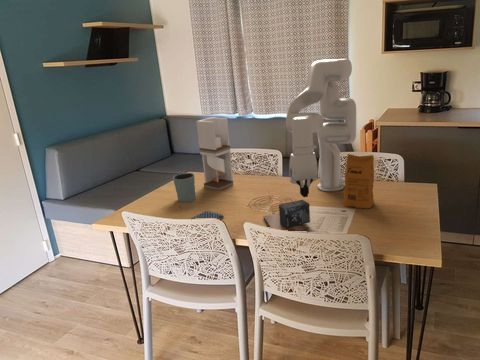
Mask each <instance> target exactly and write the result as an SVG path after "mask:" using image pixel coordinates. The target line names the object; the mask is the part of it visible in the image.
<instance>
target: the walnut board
mask: <svg viewBox="0 0 480 360" xmlns="http://www.w3.org/2000/svg"><path fill="white" fill-rule="evenodd" d="M263 221H264V222H265V224H266V225H267V226H268V228H269V227H271V228H276V229H281V230H288V231H308V232H309V228H308V227H307V226H306V225H305V224H301V225H297V226H293V227H289V228H285V227H284V226H283V225H281V224H280V214H279V213H274V214H267V215H263Z"/></svg>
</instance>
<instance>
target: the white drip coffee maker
mask: <svg viewBox="0 0 480 360" xmlns="http://www.w3.org/2000/svg"><path fill="white" fill-rule="evenodd" d="M228 122H229V121H228V118H226V117H214V116H212V117H208V118H203V119H199V120H196V130H197V131H196V132H197V136H198V137H197V138H198V146H199V154H200V155H201V158H202V165H203V167H202V168H203V175H204V176H203V177H204V182H203V187H204V188H208V189H211V190H217V191H221V190H223V189H226V188H229V187H231V186H233V185H234V176H233V166H232V165H233V164H232V154H231V152H232V151H231V144H230V133H229V123H228Z"/></svg>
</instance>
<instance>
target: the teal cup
mask: <svg viewBox="0 0 480 360" xmlns="http://www.w3.org/2000/svg"><path fill="white" fill-rule="evenodd" d="M172 181H173V183H174V184H173V185H174V187H175V191H176V197H177V200H178V202H180V203H190V202H193V201H195V200H196V199H197V196H196V186H195V182H196V181H195V174H194V173H191V172H182V173H179V174H175V175H173V176H172Z"/></svg>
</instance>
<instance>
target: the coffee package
mask: <svg viewBox="0 0 480 360" xmlns="http://www.w3.org/2000/svg"><path fill="white" fill-rule="evenodd" d="M374 156H375V155H374V154H369V155H362V156H358V155H355V154H350V153H347V158H346V167H345V168H346V169H345V176H344V177H345V182H344V188H343V204H344V207H353V208H355V209H370V208H372V206H373V205H374V202H375V201H374V200H375V199H374V192H373V188H374V182H375V170H374V169H375V168H374V167H375V164H374V160H375V159H374V158H375V157H374Z"/></svg>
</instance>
